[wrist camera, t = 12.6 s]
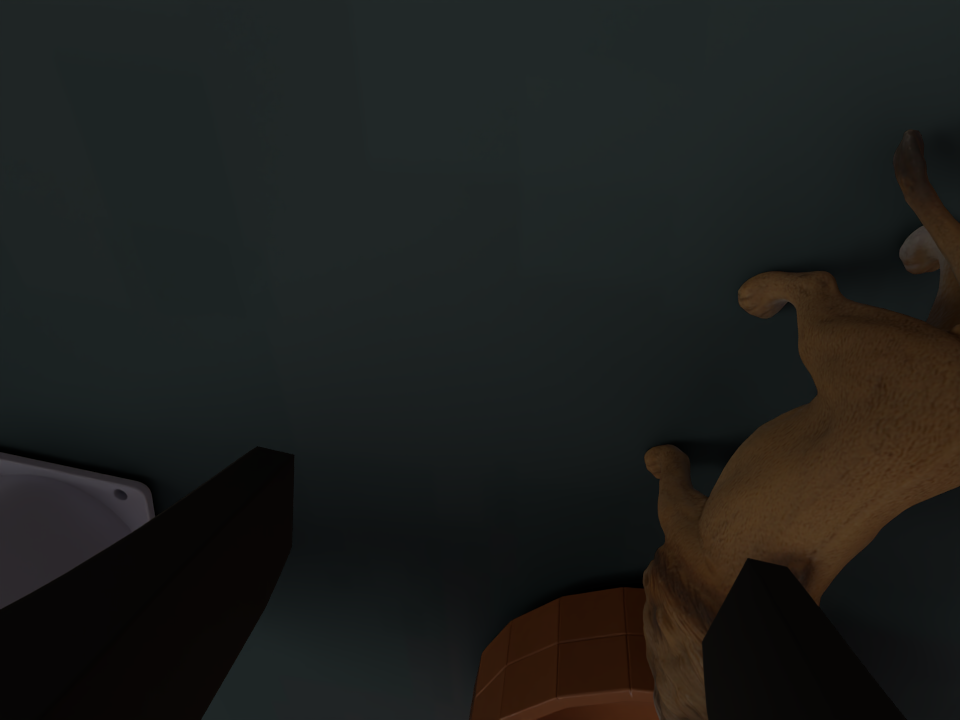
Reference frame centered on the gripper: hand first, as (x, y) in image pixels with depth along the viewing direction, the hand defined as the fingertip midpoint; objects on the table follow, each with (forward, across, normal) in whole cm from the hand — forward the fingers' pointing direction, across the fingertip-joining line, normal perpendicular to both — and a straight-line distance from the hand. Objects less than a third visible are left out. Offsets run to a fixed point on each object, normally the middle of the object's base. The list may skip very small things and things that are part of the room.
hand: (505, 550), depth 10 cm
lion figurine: (+10, -7, +1) cm, 12 cm away
